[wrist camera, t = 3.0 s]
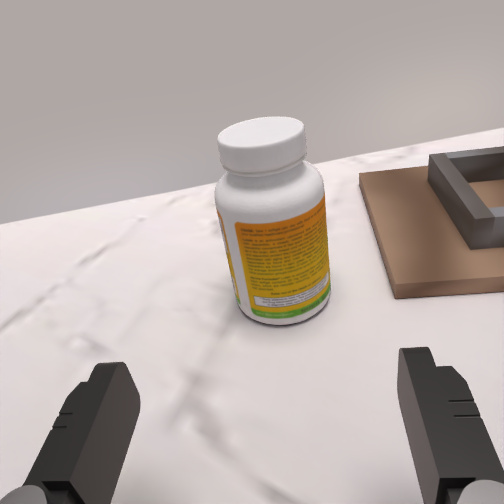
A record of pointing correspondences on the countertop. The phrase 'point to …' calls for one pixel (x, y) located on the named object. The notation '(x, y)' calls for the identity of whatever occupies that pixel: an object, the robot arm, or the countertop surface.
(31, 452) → the countertop surface
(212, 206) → the countertop surface
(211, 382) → the countertop surface
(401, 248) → the dock board
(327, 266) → the supplement bottle
